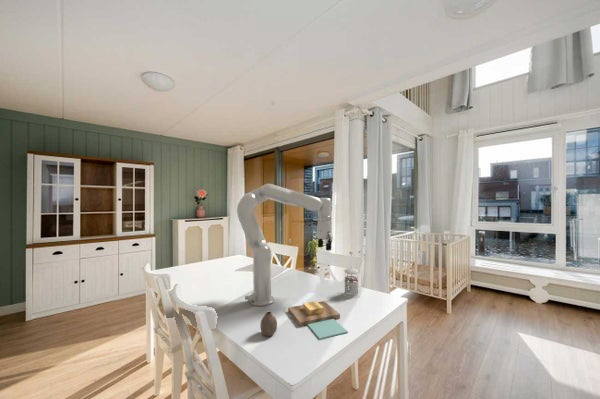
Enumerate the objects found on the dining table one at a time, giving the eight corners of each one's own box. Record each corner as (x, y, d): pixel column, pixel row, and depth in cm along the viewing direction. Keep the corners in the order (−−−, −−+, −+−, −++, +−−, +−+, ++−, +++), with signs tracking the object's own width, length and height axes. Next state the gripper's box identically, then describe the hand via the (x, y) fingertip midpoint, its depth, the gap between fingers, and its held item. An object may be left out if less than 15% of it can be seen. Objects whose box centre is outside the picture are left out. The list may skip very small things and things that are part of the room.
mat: (319, 339, 98) (319, 338, 98) (307, 325, 109) (307, 324, 109) (347, 332, 103) (347, 331, 103) (333, 319, 114) (333, 318, 114)
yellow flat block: (310, 315, 114) (309, 310, 114) (303, 308, 121) (303, 303, 121) (323, 312, 116) (323, 307, 116) (316, 306, 124) (316, 301, 124)
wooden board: (300, 326, 108) (300, 322, 108) (288, 311, 122) (288, 307, 122) (340, 318, 115) (339, 314, 115) (324, 304, 130) (324, 301, 130)
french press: (347, 298, 137) (347, 253, 137) (338, 291, 148) (338, 249, 148) (363, 296, 140) (362, 252, 140) (353, 289, 151) (353, 248, 151)
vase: (261, 329, 106) (260, 309, 106) (277, 329, 106) (277, 308, 106) (259, 339, 99) (259, 317, 99) (277, 338, 99) (276, 316, 99)
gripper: (312, 218, 150) (312, 246, 150) (326, 220, 135) (326, 252, 134) (323, 218, 153) (323, 245, 153) (338, 220, 137) (337, 250, 137)
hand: (324, 248), depth 144 cm, fingers open, 9 cm apart
